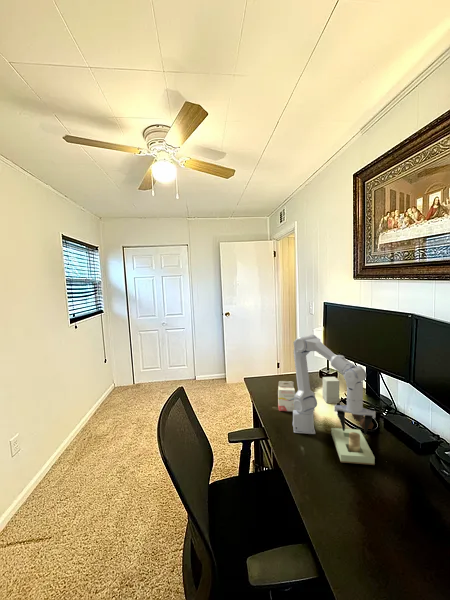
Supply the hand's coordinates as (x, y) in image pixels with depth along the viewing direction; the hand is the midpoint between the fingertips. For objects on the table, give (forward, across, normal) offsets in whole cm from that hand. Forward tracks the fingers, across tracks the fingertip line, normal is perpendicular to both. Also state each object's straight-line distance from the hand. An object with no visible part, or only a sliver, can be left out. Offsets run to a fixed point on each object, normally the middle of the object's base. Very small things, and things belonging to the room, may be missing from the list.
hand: (354, 431), depth 116 cm
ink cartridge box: (+10, +35, -29) cm, 47 cm away
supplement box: (+10, +15, -50) cm, 53 cm away
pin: (+9, 0, 0) cm, 9 cm away
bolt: (+10, -1, -30) cm, 32 cm away
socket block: (+10, +1, -5) cm, 11 cm away
